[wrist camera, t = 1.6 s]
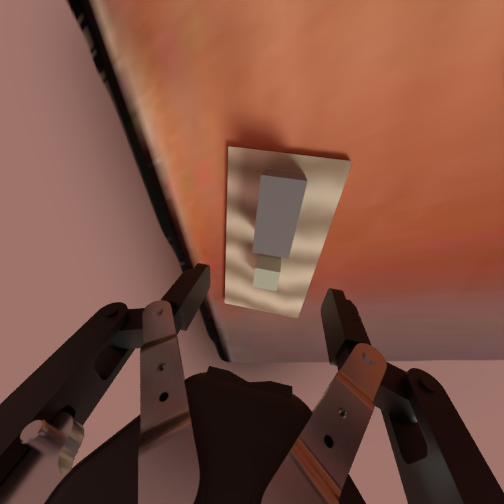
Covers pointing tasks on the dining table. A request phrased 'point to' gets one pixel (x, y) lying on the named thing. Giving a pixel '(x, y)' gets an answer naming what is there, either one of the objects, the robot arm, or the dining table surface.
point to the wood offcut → (267, 272)
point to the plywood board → (306, 235)
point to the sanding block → (278, 211)
